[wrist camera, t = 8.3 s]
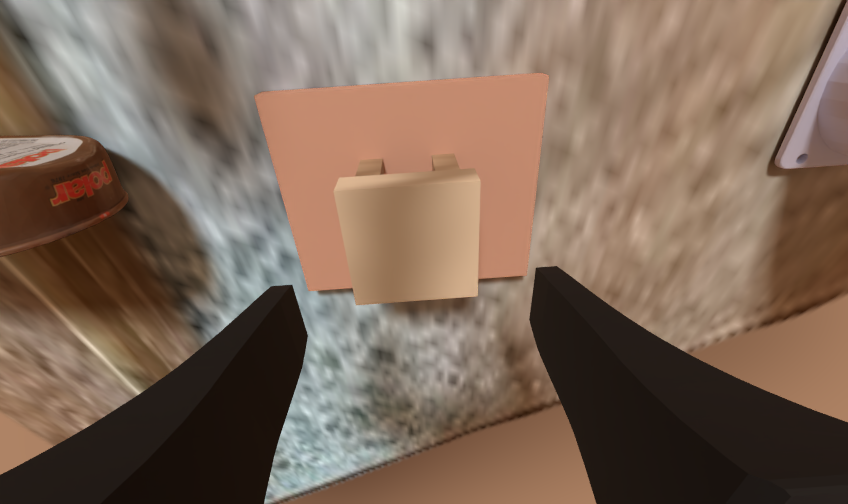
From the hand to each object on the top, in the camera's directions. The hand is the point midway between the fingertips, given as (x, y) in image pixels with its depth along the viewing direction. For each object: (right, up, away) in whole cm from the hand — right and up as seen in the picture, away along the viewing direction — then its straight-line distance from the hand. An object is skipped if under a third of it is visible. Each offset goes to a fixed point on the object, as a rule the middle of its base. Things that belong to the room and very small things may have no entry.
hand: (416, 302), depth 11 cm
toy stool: (0, +4, +7) cm, 8 cm away
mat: (0, +5, +7) cm, 9 cm away
